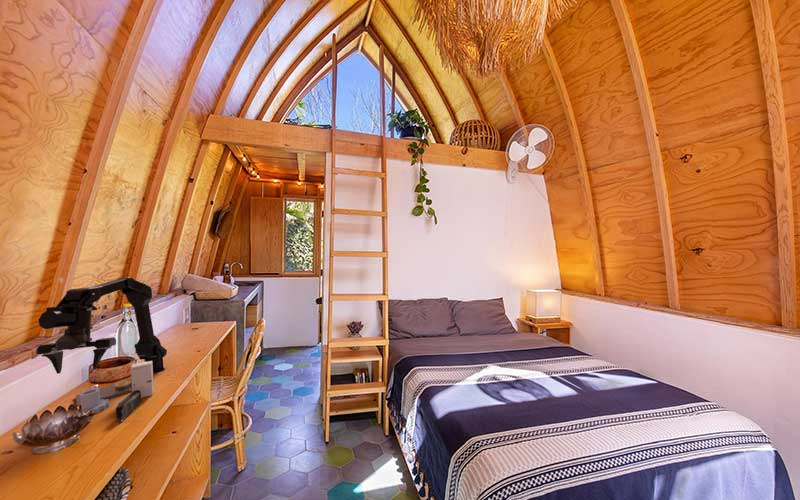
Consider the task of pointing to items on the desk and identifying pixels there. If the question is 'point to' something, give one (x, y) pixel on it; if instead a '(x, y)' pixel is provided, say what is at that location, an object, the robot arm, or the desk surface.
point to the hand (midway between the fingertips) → (76, 371)
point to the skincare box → (142, 378)
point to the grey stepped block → (93, 401)
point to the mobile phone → (128, 405)
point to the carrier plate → (111, 390)
